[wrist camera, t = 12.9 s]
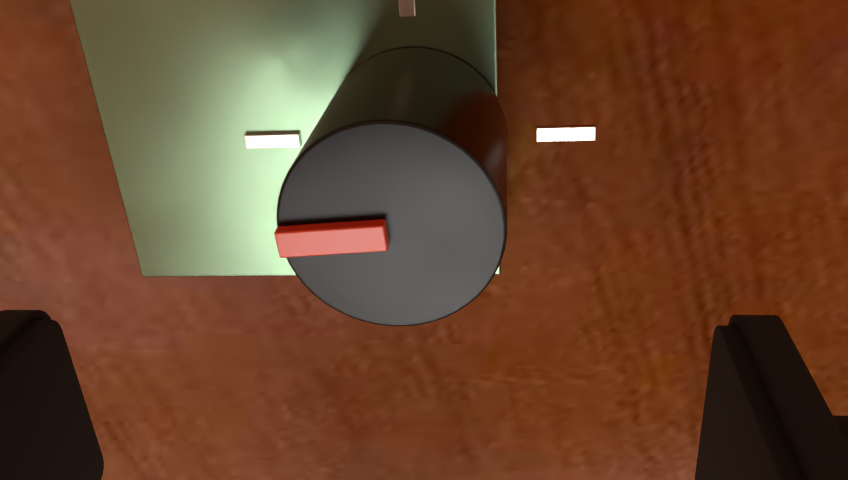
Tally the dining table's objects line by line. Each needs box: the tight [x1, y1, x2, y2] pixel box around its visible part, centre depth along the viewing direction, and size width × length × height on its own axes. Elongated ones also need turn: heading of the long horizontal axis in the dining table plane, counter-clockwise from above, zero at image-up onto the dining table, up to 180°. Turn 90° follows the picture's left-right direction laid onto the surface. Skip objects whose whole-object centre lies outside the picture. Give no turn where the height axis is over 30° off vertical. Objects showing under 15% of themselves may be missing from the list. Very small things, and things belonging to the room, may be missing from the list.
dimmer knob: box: [274, 48, 507, 326], centre depth 17 cm, size 4×4×5 cm
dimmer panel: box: [69, 0, 596, 277], centre depth 20 cm, size 12×12×3 cm
